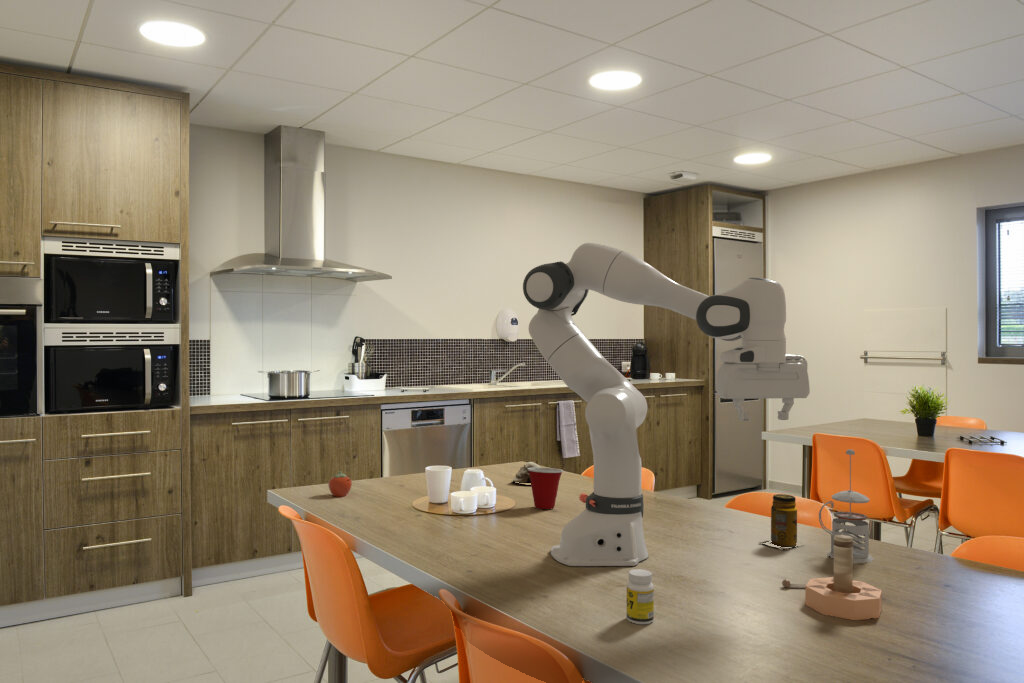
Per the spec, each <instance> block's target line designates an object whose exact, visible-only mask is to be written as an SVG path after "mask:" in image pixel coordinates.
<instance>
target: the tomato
mask: <svg viewBox="0 0 1024 683" xmlns="http://www.w3.org/2000/svg"><path fill="white" fill-rule="evenodd" d="M352 484H353V481H352V479H351V478H350V477H349V476H347V474H345V473H343V472H342V470H339V471H338V473H336V474H334V475H333V477H331V478H330V479H329V481H328V489H329V492H330V493H331V494H332V496H333V497H335V498H344V497H346V496H347V495H348V494H349V493H350V491H351V489H352V486H353V485H352Z"/></svg>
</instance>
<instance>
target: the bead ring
mask: <svg viewBox="0 0 1024 683" xmlns="http://www.w3.org/2000/svg"><path fill="white" fill-rule="evenodd" d="M806 584H807V585H806V588H805V597H804V598H805V603H804V605H805V606H807V607H809V608H811V609H813V610H814V609H815V610H814V611H816V612H818V613H820V614H822V615H824V616H829V615H830V617H834V616H835V618H840V619H845V620H846V619H847V620H851V621H860V620H861V621H862V620H871V619H870V618H874V619H880V617H881V614H880V613H882V611H883V610H882V609H883V591H882V590H881V589H879V588H878V587H875V586H873V585H871V584H868V583H866V582H865V581H861V580H855V579H854V580H853V593H852V594H847V593H841V592H835V591H834V576H831V577H830V576H829V577H827V576H826V577H819V578H818V577H815V578H814V577H813V578H810V579H809V580H808V582H807V583H806ZM879 616H880V617H879Z"/></svg>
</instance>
